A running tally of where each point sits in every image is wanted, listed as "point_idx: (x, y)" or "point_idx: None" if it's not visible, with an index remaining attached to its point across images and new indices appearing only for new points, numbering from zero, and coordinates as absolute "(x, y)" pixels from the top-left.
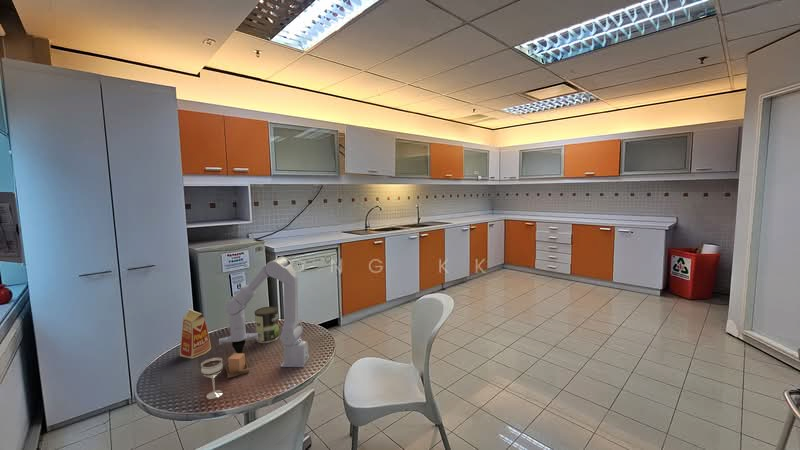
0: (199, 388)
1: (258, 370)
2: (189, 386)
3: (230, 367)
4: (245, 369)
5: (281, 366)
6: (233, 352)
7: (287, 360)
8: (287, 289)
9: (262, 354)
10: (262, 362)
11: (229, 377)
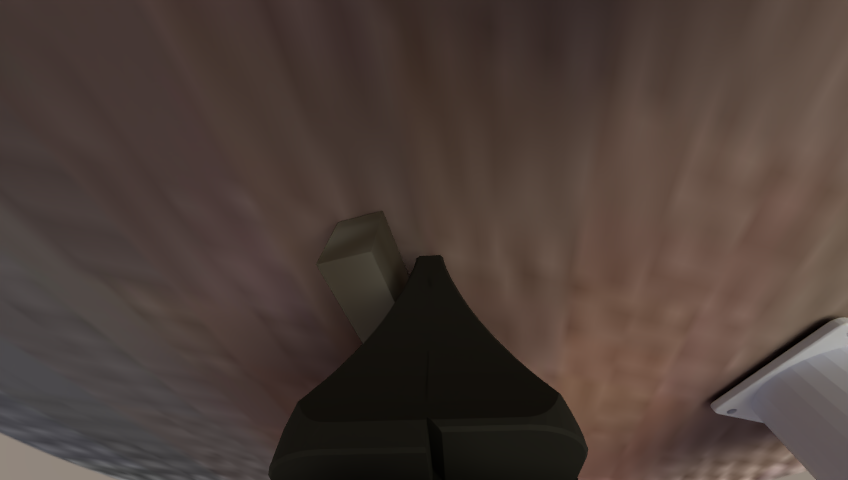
0: None
1: (567, 399)
2: (212, 432)
3: None
4: None
5: (715, 410)
6: (337, 259)
7: (794, 455)
8: None
9: (656, 195)
10: (614, 329)
11: None
